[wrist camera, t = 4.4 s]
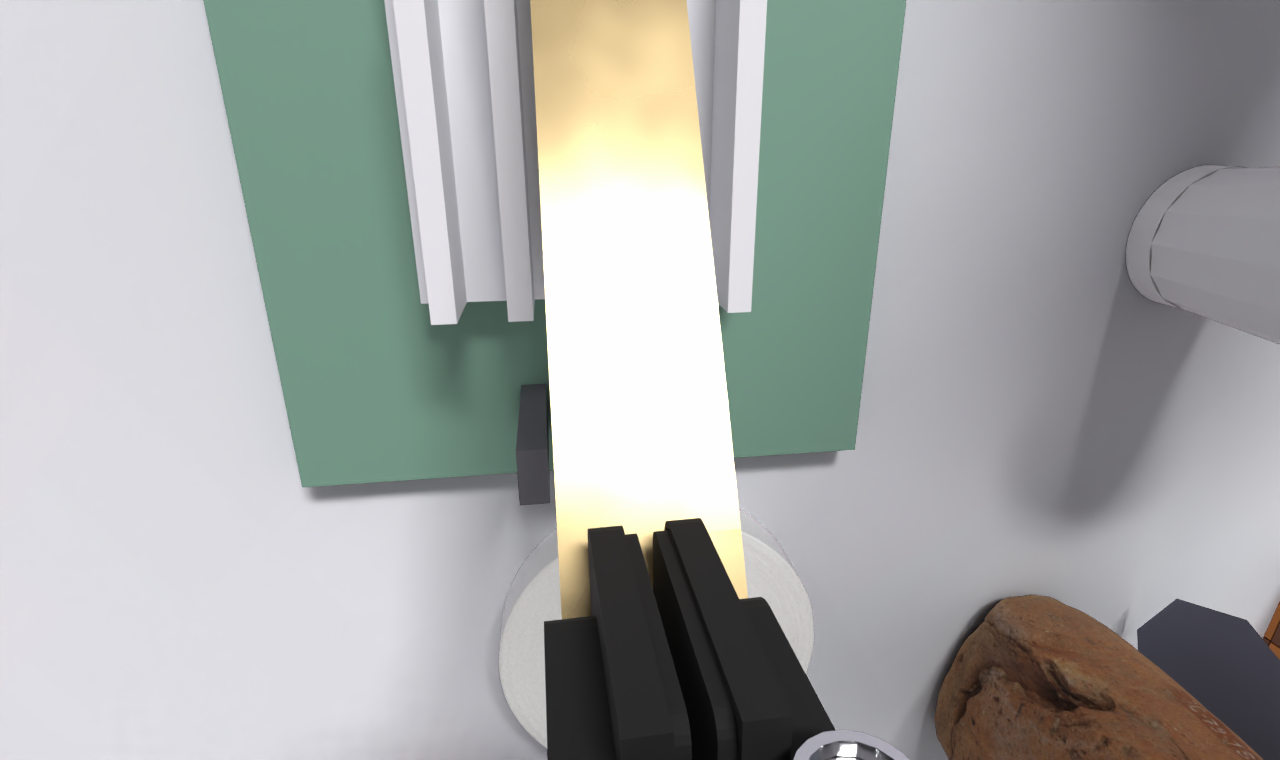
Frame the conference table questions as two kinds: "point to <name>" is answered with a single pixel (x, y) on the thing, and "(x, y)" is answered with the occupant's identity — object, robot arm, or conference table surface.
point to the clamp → (1222, 667)
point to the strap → (629, 285)
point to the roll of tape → (541, 601)
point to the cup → (1213, 246)
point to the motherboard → (538, 221)
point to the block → (1068, 695)
